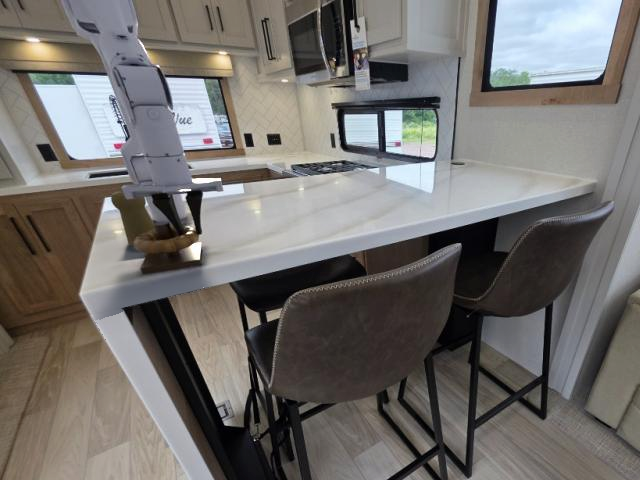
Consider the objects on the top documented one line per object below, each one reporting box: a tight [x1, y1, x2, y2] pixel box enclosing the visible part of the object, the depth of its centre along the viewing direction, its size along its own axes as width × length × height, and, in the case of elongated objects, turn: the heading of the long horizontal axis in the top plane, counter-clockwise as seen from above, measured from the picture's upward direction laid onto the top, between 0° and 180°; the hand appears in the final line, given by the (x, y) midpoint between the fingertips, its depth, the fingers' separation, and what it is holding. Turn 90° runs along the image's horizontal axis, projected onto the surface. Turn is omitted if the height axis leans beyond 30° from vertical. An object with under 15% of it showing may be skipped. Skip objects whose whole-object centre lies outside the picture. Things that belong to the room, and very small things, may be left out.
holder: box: [139, 221, 204, 275], centre depth 60 cm, size 9×9×7 cm
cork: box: [110, 189, 155, 247], centre depth 65 cm, size 6×6×11 cm
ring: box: [133, 225, 200, 254], centre depth 60 cm, size 10×10×2 cm
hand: (191, 234), depth 61 cm, fingers closed on ring, 2 cm apart
